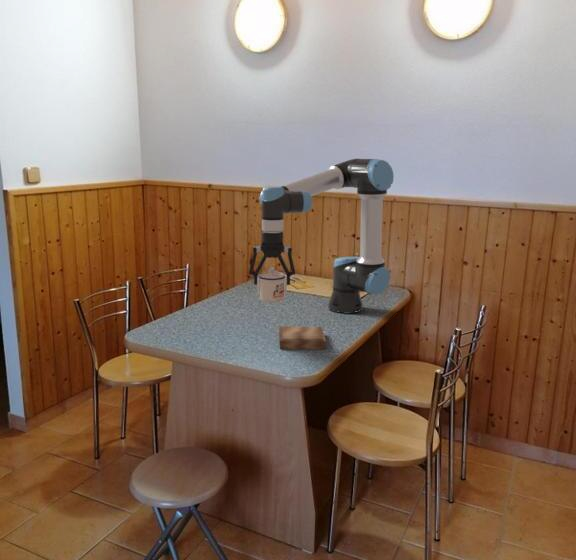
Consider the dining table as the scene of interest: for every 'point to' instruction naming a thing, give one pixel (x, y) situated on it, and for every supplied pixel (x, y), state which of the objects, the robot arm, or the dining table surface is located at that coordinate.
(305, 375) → the dining table surface
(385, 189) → the robot arm
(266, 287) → the teacup with lid
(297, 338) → the walnut base
